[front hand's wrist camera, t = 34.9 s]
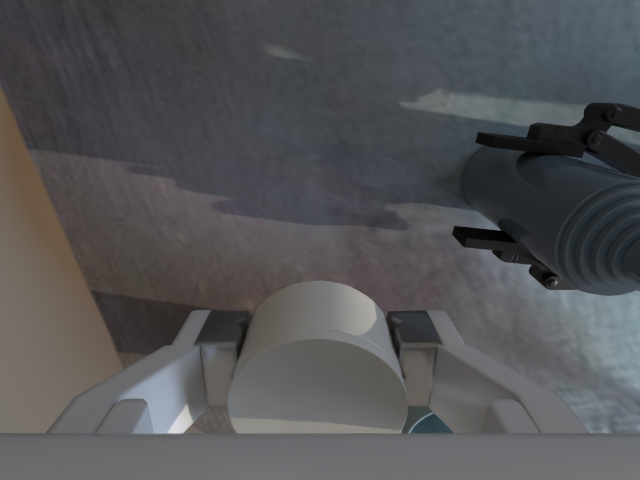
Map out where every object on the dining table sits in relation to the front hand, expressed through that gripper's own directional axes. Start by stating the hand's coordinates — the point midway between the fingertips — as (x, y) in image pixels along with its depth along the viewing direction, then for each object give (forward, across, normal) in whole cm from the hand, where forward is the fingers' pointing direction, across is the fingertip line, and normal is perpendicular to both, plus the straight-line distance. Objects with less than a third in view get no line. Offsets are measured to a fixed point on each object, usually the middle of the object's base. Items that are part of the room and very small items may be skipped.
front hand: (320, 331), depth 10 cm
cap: (-2, 0, 0) cm, 2 cm away
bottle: (+26, +16, -1) cm, 30 cm away
